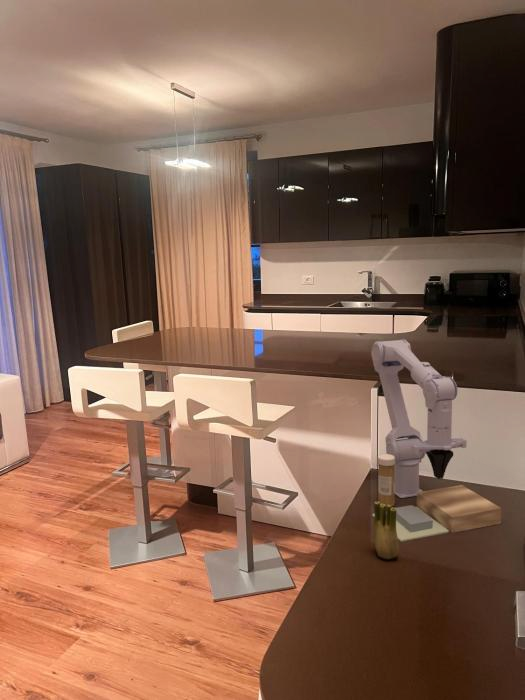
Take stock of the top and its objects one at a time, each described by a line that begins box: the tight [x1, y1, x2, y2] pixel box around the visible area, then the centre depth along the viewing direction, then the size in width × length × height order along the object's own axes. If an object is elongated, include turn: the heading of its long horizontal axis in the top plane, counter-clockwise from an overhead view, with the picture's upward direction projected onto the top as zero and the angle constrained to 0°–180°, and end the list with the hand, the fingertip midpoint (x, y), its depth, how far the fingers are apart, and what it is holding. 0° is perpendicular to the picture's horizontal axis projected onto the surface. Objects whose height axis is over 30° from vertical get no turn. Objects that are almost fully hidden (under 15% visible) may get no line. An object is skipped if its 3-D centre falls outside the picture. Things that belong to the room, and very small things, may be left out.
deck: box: [416, 484, 502, 534], centre depth 129 cm, size 15×14×4 cm
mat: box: [371, 506, 450, 543], centre depth 126 cm, size 14×13×1 cm
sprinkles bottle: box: [377, 453, 396, 507], centre depth 136 cm, size 5×5×13 cm
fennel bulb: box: [373, 501, 400, 560], centre depth 111 cm, size 6×5×12 cm
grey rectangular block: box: [394, 504, 433, 532], centre depth 126 cm, size 9×6×2 cm, turn 16°
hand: (438, 477), depth 128 cm, fingers closed
